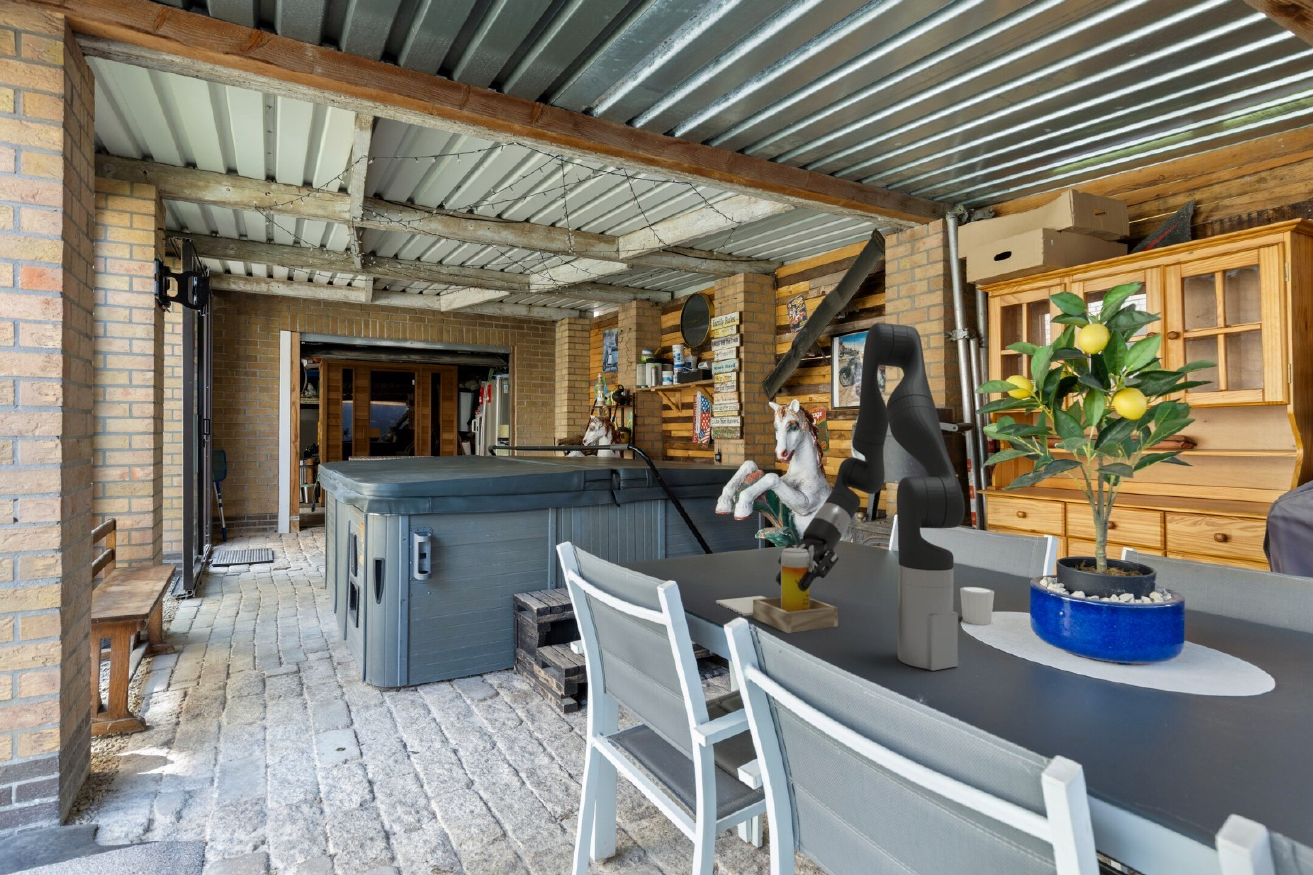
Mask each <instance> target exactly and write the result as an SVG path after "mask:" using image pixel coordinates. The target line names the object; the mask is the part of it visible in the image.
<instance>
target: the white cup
mask: <svg viewBox="0 0 1313 875" xmlns="http://www.w3.org/2000/svg"><path fill="white" fill-rule="evenodd" d="M959 590H960V591H959V592H960V603H961V613H962V621H963V622H965V623H969V624H973V625H978V626H979V625H981V626H984V625H990V624H992V616H993V609H994V608H993V606H994V598H995V590H992V589H989V588H984V587H978V586H964V587H960V589H959Z"/></svg>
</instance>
